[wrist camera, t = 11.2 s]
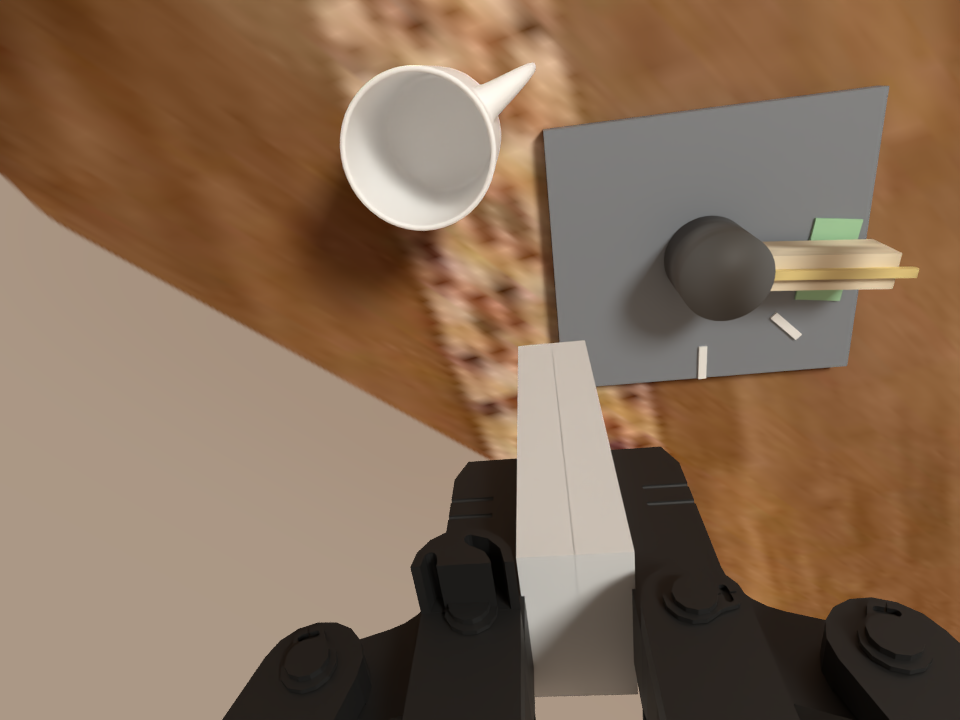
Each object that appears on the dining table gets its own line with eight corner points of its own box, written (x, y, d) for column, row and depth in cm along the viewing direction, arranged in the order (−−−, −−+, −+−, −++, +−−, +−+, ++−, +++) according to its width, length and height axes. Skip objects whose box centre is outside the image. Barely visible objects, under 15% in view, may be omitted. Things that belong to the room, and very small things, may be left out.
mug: (566, 124, 41) (580, 140, 32) (427, 218, 45) (401, 259, 35) (499, 4, 39) (492, -17, 29) (356, 115, 42) (307, 128, 32)
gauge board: (542, 129, 42) (543, 131, 40) (879, 85, 39) (891, 86, 38) (562, 382, 50) (563, 390, 49) (839, 359, 48) (848, 366, 46)
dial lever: (660, 296, 45) (675, 321, 41) (668, 216, 42) (685, 234, 38) (868, 293, 44) (908, 318, 39) (889, 210, 41) (934, 227, 37)
